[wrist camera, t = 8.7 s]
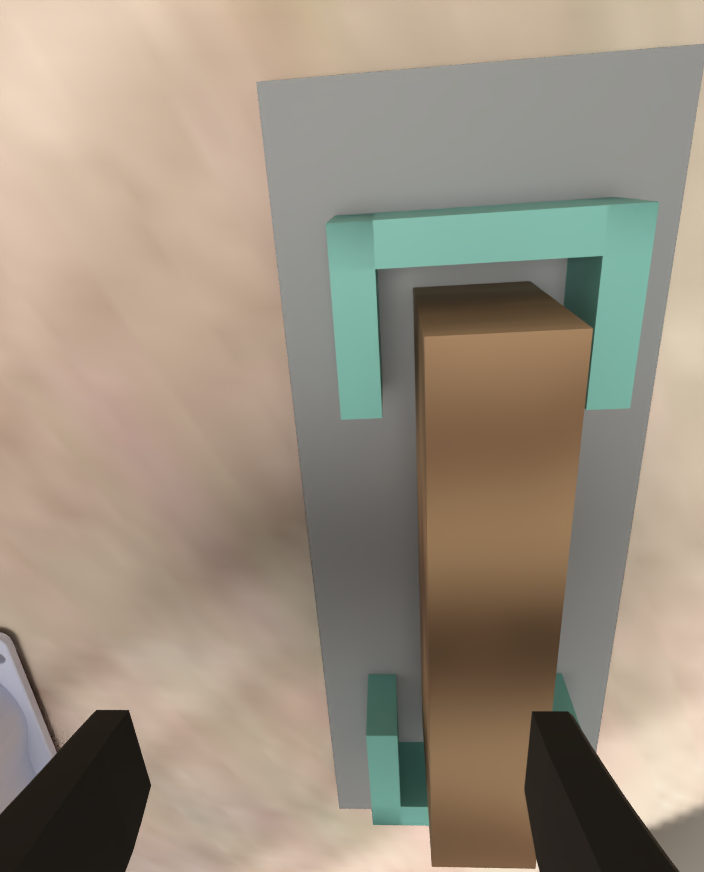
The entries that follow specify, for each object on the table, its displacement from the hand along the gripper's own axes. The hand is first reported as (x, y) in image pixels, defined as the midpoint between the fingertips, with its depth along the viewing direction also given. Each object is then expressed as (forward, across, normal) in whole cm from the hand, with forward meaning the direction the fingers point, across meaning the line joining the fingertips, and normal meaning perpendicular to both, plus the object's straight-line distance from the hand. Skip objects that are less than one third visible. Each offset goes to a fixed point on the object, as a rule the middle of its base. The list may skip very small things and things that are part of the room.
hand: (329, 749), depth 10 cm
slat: (+8, -4, +1) cm, 9 cm away
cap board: (+9, -4, +2) cm, 10 cm away
